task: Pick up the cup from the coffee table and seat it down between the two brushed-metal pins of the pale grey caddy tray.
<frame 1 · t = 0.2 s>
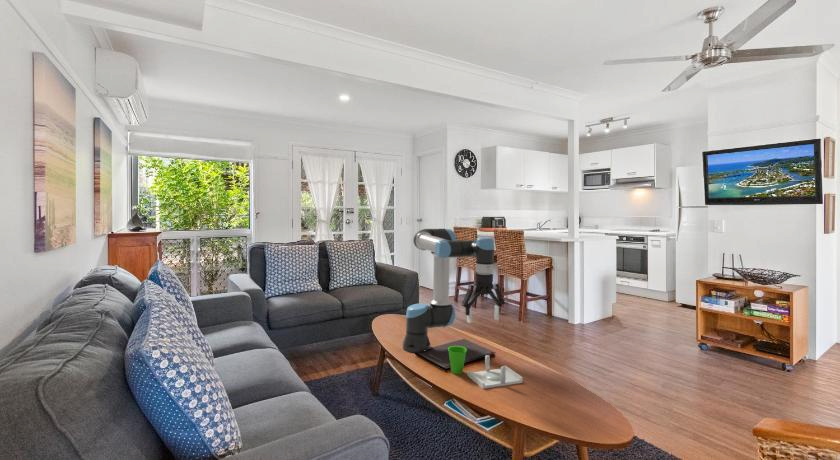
hand: (482, 321, 177), 27 cm above the table, fingers open, 13 cm apart
cup: (456, 372, 188), on the table
caddy: (494, 379, 182), on the table
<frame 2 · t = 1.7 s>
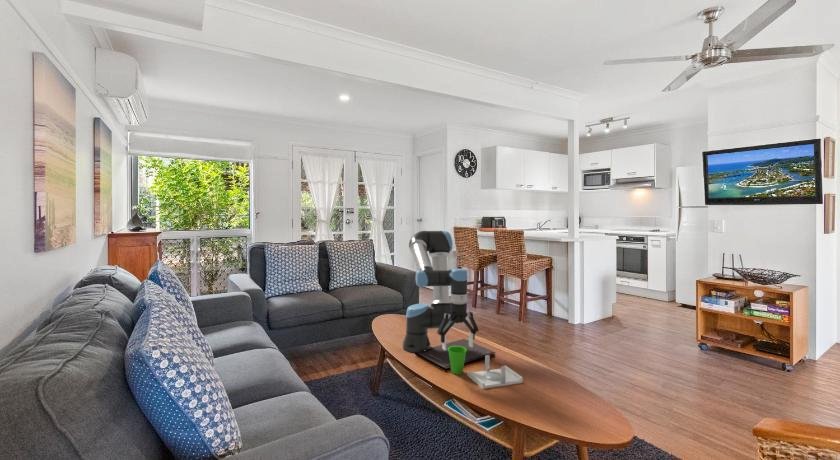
hand: (457, 348, 187), 12 cm above the table, fingers open, 13 cm apart
nothing on the table moved.
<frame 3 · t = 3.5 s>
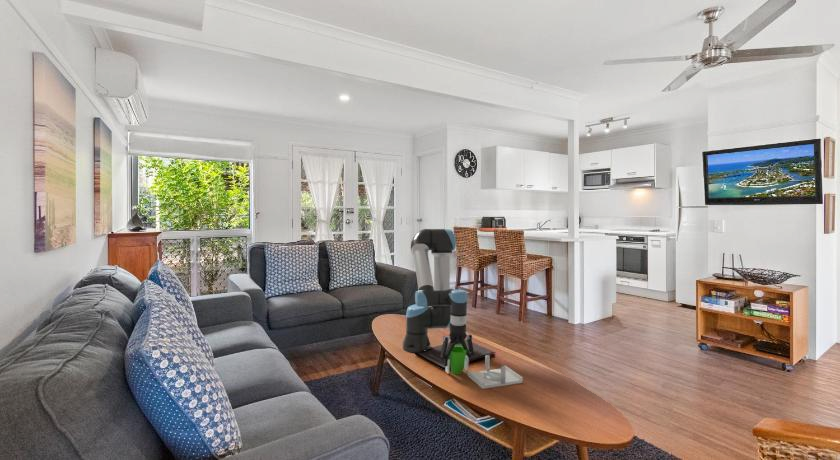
hand: (456, 371, 188), 0 cm above the table, fingers closed on cup, 9 cm apart
cup: (456, 372, 188), on the table, touching gripper
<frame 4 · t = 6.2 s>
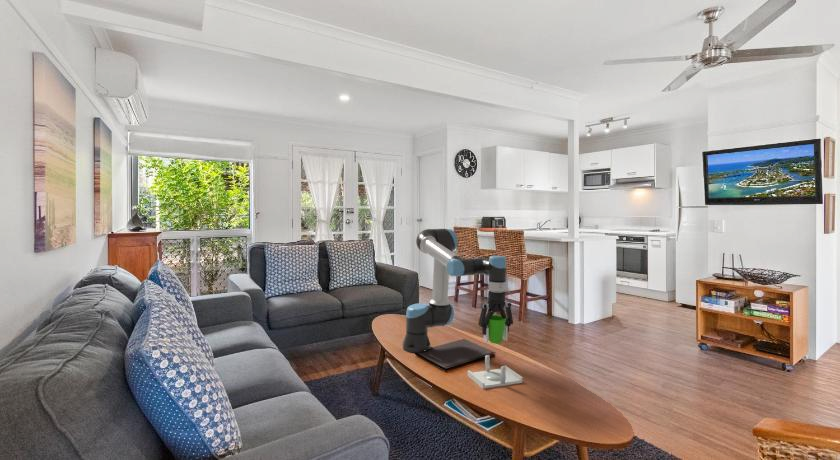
hand: (495, 340, 180), 18 cm above the table, fingers closed on cup, 9 cm apart
cup: (495, 342, 180), point 17 cm above the table, touching gripper
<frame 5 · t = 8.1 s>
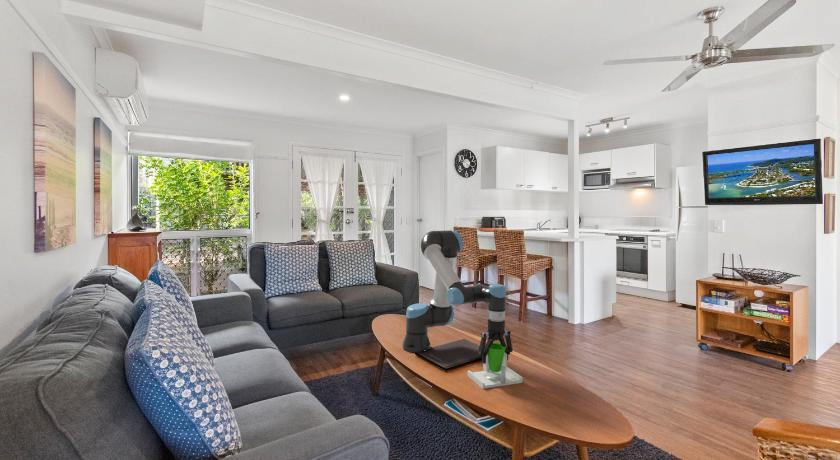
hand: (494, 368, 181), 5 cm above the table, fingers closed on cup, 9 cm apart
cup: (495, 370, 181), point 4 cm above the table, touching gripper
when the fingers open (4 cm above the table, at t = 9.2 s): cup drops 2 cm, resting on caddy.
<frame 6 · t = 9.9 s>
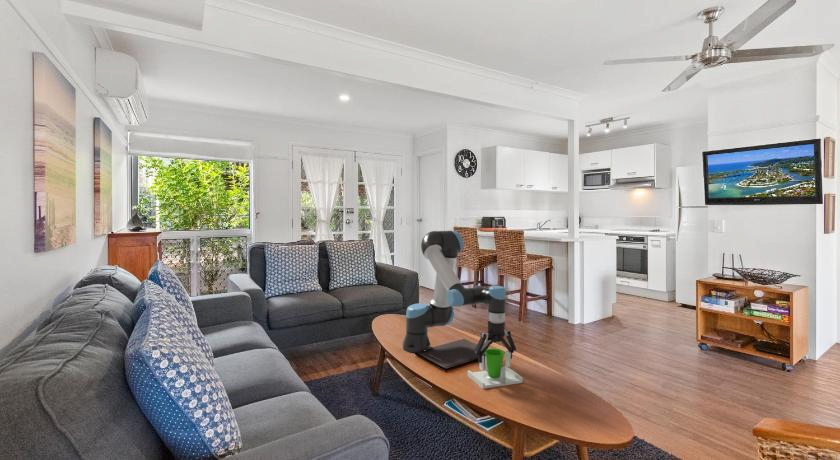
hand: (494, 367, 181), 5 cm above the table, fingers open, 13 cm apart
cup: (494, 376, 181), point 1 cm above the table, touching caddy
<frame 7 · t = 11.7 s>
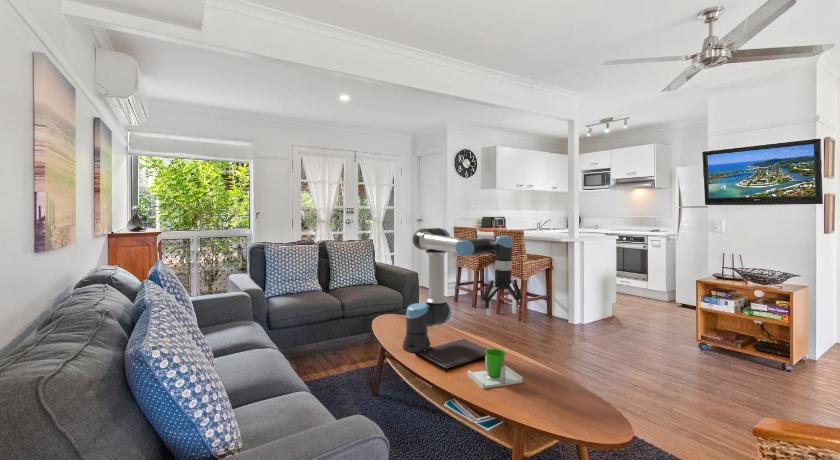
hand: (501, 314, 189), 27 cm above the table, fingers open, 13 cm apart
nothing on the table moved.
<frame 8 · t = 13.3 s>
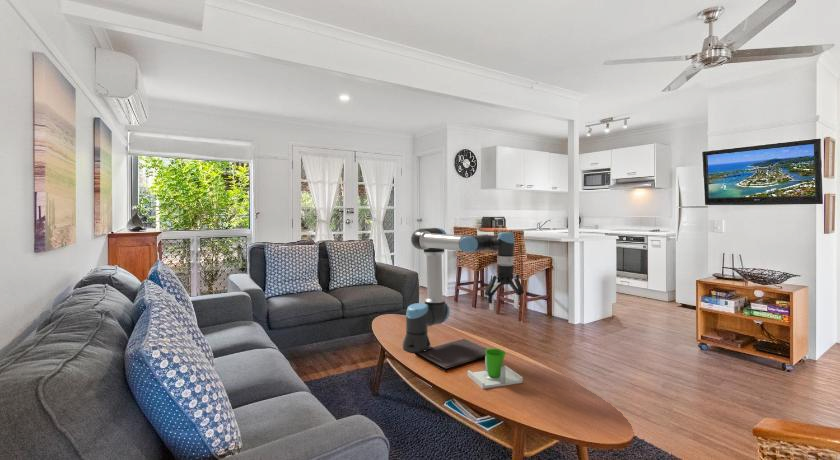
hand: (503, 309, 193), 29 cm above the table, fingers open, 13 cm apart
nothing on the table moved.
at the end: cup inside the target area on the caddy (0.2 cm from its centre), point 1.2 cm above the caddy's base; cup touching caddy; cup tilted 0° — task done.
